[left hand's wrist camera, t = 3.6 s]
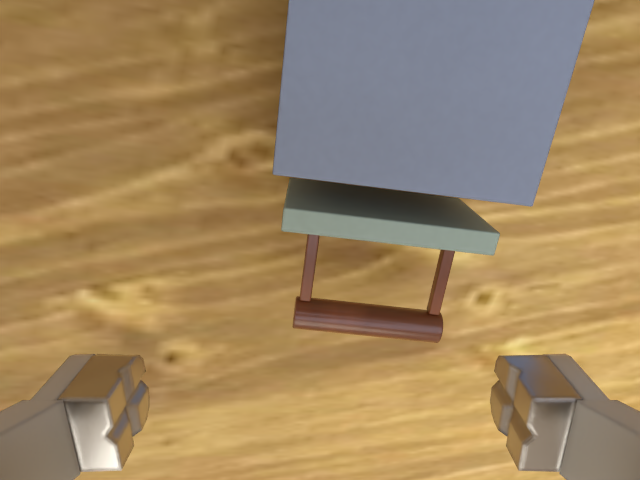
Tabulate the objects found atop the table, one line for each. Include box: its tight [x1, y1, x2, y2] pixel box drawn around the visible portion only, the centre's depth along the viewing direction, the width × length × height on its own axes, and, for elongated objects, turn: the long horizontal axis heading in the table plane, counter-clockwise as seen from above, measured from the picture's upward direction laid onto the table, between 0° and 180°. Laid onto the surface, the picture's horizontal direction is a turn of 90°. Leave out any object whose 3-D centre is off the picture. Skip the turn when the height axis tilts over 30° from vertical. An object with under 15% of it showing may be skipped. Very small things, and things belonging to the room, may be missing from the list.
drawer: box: [281, 178, 500, 343], centre depth 23 cm, size 25×10×7 cm, turn 173°
